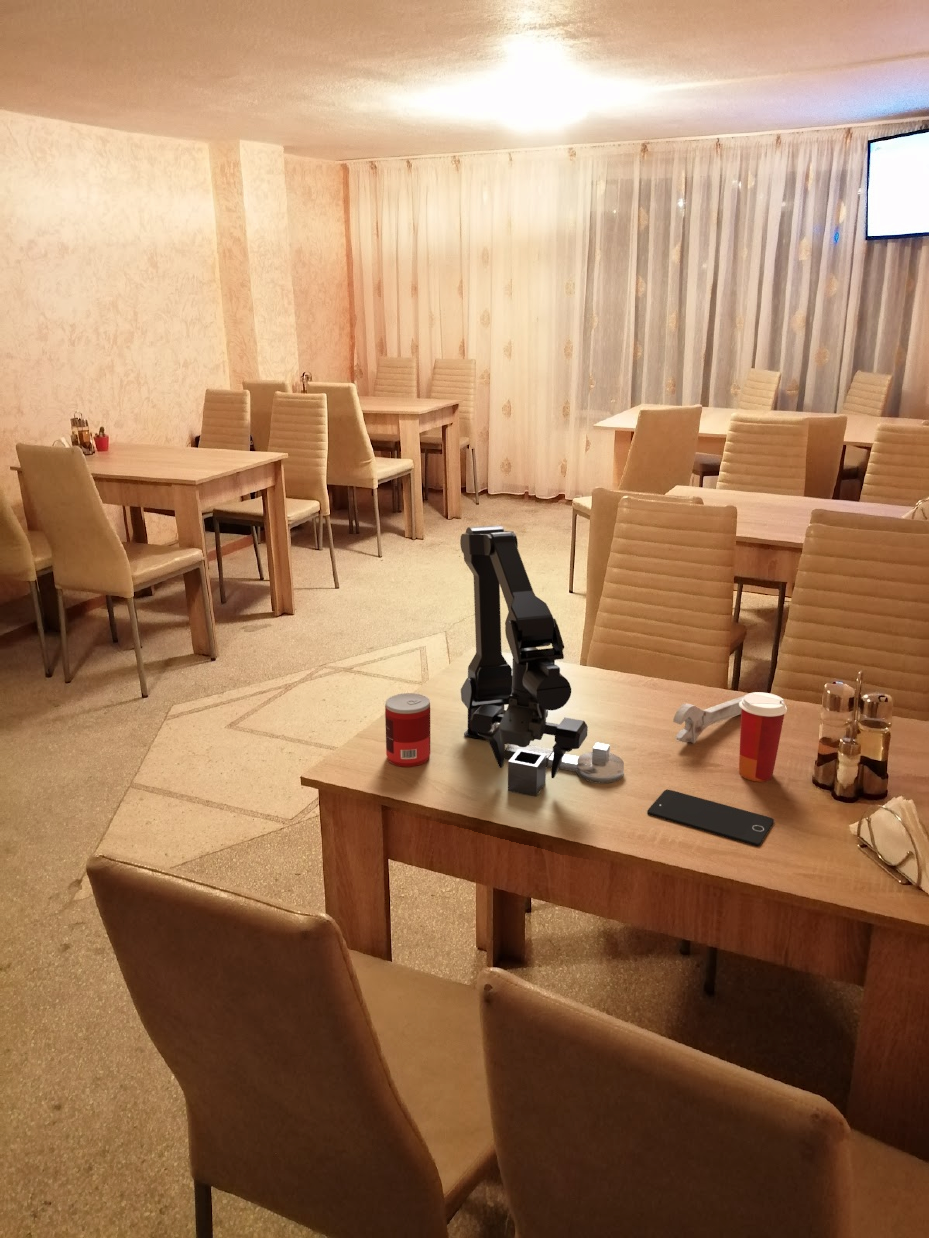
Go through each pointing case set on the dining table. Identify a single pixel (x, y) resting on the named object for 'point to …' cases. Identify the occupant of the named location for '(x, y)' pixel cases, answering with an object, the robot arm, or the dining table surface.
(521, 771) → the socket
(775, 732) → the paper cup
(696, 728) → the wrench
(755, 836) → the cell phone
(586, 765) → the ratchet
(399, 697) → the canned food
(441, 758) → the dining table surface
